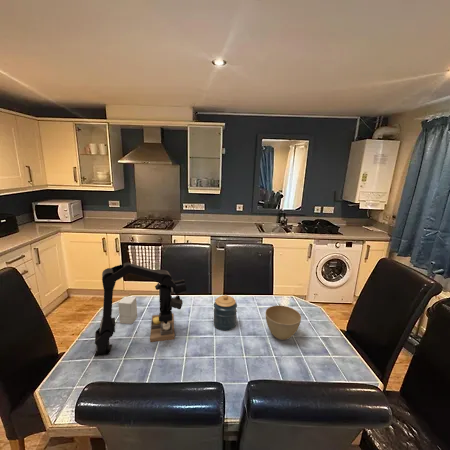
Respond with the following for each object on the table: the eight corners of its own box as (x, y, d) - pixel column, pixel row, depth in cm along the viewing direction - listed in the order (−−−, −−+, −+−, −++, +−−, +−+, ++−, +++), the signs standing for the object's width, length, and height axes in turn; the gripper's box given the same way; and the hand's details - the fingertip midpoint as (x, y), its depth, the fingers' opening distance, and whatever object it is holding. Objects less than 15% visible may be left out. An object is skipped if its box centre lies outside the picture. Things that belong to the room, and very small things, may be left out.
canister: (227, 334, 133) (227, 303, 129) (208, 325, 140) (208, 296, 136) (240, 322, 143) (241, 294, 139) (222, 314, 150) (223, 287, 147)
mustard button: (160, 324, 134) (160, 320, 133) (153, 325, 133) (152, 321, 132) (160, 320, 137) (160, 316, 137) (153, 321, 136) (153, 317, 136)
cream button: (170, 330, 129) (170, 326, 128) (162, 331, 128) (162, 326, 128) (170, 325, 133) (169, 321, 132) (162, 326, 132) (162, 322, 131)
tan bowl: (300, 349, 123) (302, 326, 120) (263, 343, 126) (264, 321, 123) (297, 327, 140) (299, 307, 137) (265, 322, 143) (266, 303, 141)
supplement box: (137, 316, 146) (136, 297, 144) (132, 324, 139) (130, 303, 137) (125, 315, 147) (124, 296, 144) (119, 323, 140) (117, 302, 137)
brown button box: (174, 339, 128) (174, 332, 127) (150, 342, 125) (149, 335, 124) (173, 316, 148) (173, 310, 147) (152, 318, 145) (152, 312, 144)
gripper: (182, 303, 119) (183, 332, 123) (180, 286, 137) (180, 312, 140) (158, 305, 117) (159, 335, 120) (159, 287, 135) (160, 314, 138)
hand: (166, 323), depth 130 cm, fingers closed
